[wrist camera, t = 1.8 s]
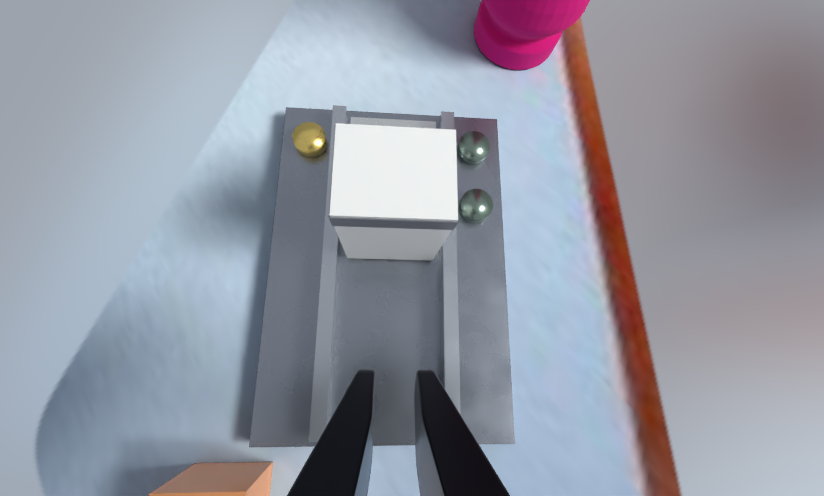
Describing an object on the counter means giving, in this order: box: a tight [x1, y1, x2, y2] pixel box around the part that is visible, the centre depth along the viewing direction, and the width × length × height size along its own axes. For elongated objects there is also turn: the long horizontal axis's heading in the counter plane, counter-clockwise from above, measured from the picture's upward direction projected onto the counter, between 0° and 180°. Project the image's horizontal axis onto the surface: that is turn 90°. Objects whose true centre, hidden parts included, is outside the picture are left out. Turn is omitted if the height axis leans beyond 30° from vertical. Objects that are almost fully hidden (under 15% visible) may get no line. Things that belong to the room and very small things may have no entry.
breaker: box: [329, 123, 458, 260], centre depth 18 cm, size 4×5×8 cm
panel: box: [249, 105, 515, 447], centre depth 22 cm, size 20×14×2 cm
